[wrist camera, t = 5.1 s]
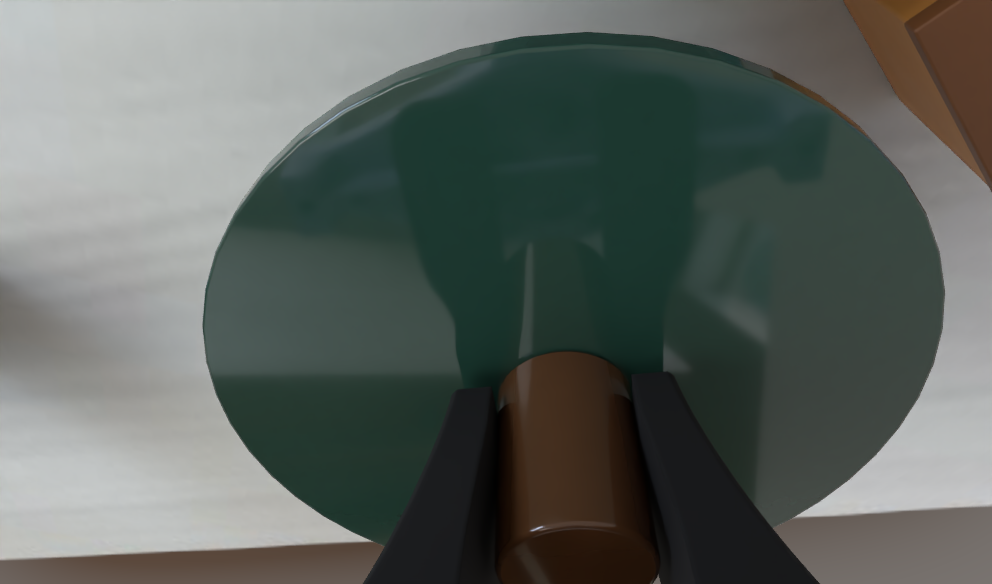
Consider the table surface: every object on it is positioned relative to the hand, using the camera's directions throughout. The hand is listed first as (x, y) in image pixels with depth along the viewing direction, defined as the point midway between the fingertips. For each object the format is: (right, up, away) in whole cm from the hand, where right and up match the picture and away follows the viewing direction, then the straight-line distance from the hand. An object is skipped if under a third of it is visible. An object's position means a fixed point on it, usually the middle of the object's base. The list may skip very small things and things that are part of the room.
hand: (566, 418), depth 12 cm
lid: (0, +1, +1) cm, 1 cm away
